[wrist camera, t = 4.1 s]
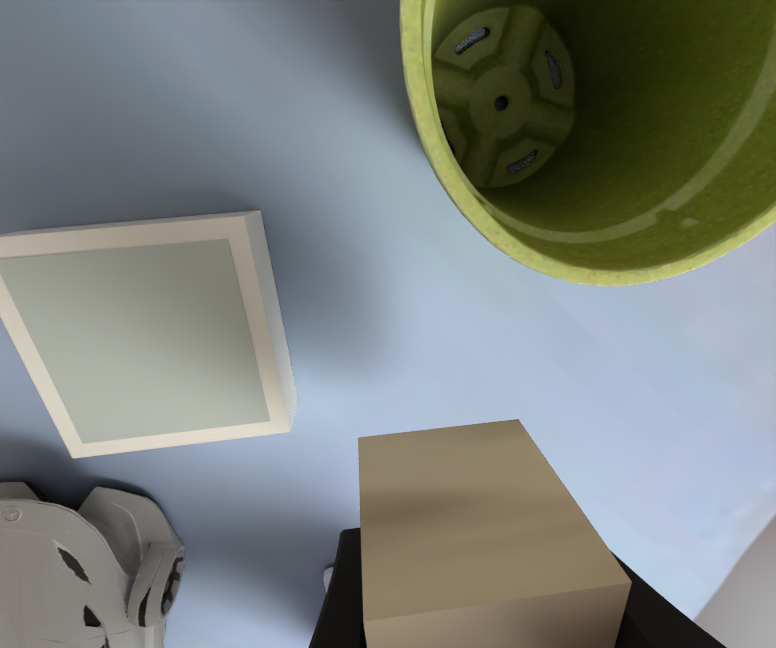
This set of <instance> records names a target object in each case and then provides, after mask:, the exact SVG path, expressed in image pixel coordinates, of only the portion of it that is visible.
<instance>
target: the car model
mask: <svg viewBox="0 0 776 648" xmlns="http://www.w3.org/2000/svg"><path fill="white" fill-rule="evenodd" d="M184 560H185V550H184V545H183V543H182V542H181V540H180V539H179V538H178V537H177V535H176V534H175V532H174V531H173V529H172V527H171V525H170V524H169V522H168V521H167V519H166V517H165V516H164V514H163V513H162V511H161V509H160V508H159V506H158V505H157V504H156V503H154V502H153V501H152V500H150V499H149V498H147V497H145V496H143V495H140V494H136V493H132V492H127V491H123V490H118V489H114V488H109V487H105V486H98V487H95V488H94V489H93V491H92V492H91V493H90V495H89V496H88V497H87V498H86V500H85V501H84V502H83V503H82V504H81V505H78V506H76V507H72V506H61V505H58V504H56V503H54V502H52V501H49V500H48V499H47V498H46V497H45V496H43V495H42V494H41V493H40V492H39V491H38V490H37V489H36V488H35V487H33V486H32V485H31V484H30V483H29V482H28V481H15V482H1V483H0V648H163V647H164V636H165V626H166V618H167V616H168V615H169V613H170V610H171V608H172V606H173V604H174V602H175V599H176V596H177V593H178V590H179V588H180V584H181V581H182V577H183V573H184V568H185V565H184Z"/></svg>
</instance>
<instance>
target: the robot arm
mask: <svg viewBox="0 0 776 648" xmlns="http://www.w3.org/2000/svg"><path fill="white" fill-rule="evenodd" d="M610 552H611V551H610ZM611 553H612V554H613V556H614V557H615V559H616V560H617V562H618V563H619V564H620V566H621V567H622V569H623V570H624V572H625V573H626V574H627V576H628V577H629V579H630V580H631V582H632V584H631V587H630V591H629V595H628V598H627V602H626V606H625V609H624V613H623V617H622V620H621V624H620V628H619V631H618V635H617V639H616V642H615V646H614V648H726V647H725V646H724V645H722V644H721V643H720V642H719V641H717V640H716V639H715V638H713V637H712V636H711V635H709V634H708V633H707V632H705V631H704V630H703V629H702V628H700V627H699V626H698V625H696V624H695V623H694V622H693V621H692V620H690V619H689V618H688V617H687V616H685V615H684V614H683V613H682V612H680V611H679V610H678V609H677V608H676V607H674V606H673V605H672V604H671V603H670V602H668V601H667V600H666V599H665V598H664V597H662V596H661V595H660V594H659V593H658V592H656V591H655V590H654V589H653V588H652V587H651V586H649V585H648V584H647V583H646V582H645V581H644V580H643V579H641V578H640V577H639V576H638V575H637V574H636V573H635V572H634V571H632V570H631V569H630V568H629V567H628V566H627V565H626V564H625V563H624V562H622V561H621V560H620V559H619V558H618V557H617V556H616V555H615V554H614V553H613V552H611ZM323 580H324V585H325V590H326V597H325V600H324V603H323V606H322V610H321V613H320V616H319V619H318V622H317V625H316V628H315V631H314V634H313V637H312V639H311V642H310V645H309V648H367V643H366V637H365V630H364V623H363V591H362V556H361V528H354V529H347V530H343V531H342V532H341V533H340V539H339V545H338V550H337V555H336V560H335V564H334V567H331V568H328V569H326V570H325V571H324V577H323Z"/></svg>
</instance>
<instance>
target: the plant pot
mask: <svg viewBox="0 0 776 648" xmlns="http://www.w3.org/2000/svg"><path fill="white" fill-rule="evenodd" d="M482 27H487V28H488V29H489V30H490V33H489V36H488V37H486V38H485V39H482V40H480V41H479V42H477V43H475V44H473V45H472V46H470V47H469V48H468V49H466V50H465V51H464V52H463V53H462V54H461V55H457V54H456V53H455V52H456V47H457V45H458V43H460V42H462V41H463V40H464V39H466V38H468V37H469V36H470V34H471V33H472V32H473V31H474V30H476V29H479V28H482ZM399 33H400V45H401V58H402V67H403V73H404V80H405V86H406V92H407V96H408V101H409V105H410V109H411V114H412V117H413V121H414V124H415V127H416V130H417V133H418V136H419V139H420V142H421V145H422V147H423V150H424V152H425V155H426V157H427V159H428V161H429V163H430V165H431V167H432V169H433V171H434V173H435V175H436V177H437V179H438V180H439V182H440V184H441V185H442V187H443V188H444V190H445V191H446V193H447V194H448V196H449V198H450V199H451V200H452V202H453V203H454V204H455V205H456V207H457V208H458V209H459V211H460V212H461V213H462V215H463V216H464V217H465V218H466V219H467V220H468V221H469V222H470V223H471V224H472V225H473V226H474V227H475V228H476V230H477V231H478V232H479V233H480V234H481V235H482V236H483V237H484V238H486V239H487V240H488V241H489V242H490V243H491V244H493V245H494V246H495V247H496V248H497V249H499V250H500V251H502V252H503V253H505V254H506V255H508V256H509V257H511V258H512V259H513V260H515V261H517V262H519V263H521V264H523V265H525V266H526V267H528V268H531V269H533V270H535V271H537V272H539V273H542V274H545V275H548V276H550V277H553V278H557V279H560V280H564V281H567V282H570V283H576V284H583V285H591V286H608V287H614V286H628V285H636V284H643V283H649V282H653V281H657V280H661V279H666V278H670V277H673V276H677V275H680V274H683V273H685V272H689V271H692V270H694V269H697V268H699V267H702V266H704V265H706V264H708V263H710V262H712V261H714V260H716V259H718V258H720V257H721V256H723V255H725V254H727V253H729V252H731V251H732V250H734V249H736V248H738V247H739V246H741V245H743V244H744V243H746V242H748V241H750V240H751V239H753V238H754V237H756V236H757V235H759V234H760V233H761V232H763V231H764V230H765V229H767V228H768V227H769V226H771V225H772V224H773V223H775V222H776V0H400V9H399ZM546 50H547V52H550V53H551V54H552V55H553V57H554V58H555V59H556V61H557V63H558V65H559V67H560V71H561V77H562V81H561V87H560V88H558V89H555V88H554V86H553V79H552V76H551V71H550V68H549V65H548V63H547V60H548V58H547V57H546V56H545V51H546ZM500 96H504V97H506V98H507V100H508V105H507V107H506V109H505V110H503V111H497V109H496V108H495V100H496V99H497V98H499V97H500ZM440 121H442V123H443V127H444V130H445V133H446V135H447V138H448V140H449V142H450V144H451V145H452V146H453V148H454V149H455V154H454V155H453V154H452V151H451V149H450V147H449V144H448V142H447V140H446V137H445V134H444V131H443V129H442V125H441V122H440ZM534 150H536V151H537V154H536V158H535V159H534V160H533V161H532V162H531V163H529V164H528V165H526V166H525V167H523V168H522V169H521V170H519V171H516V172H514V173H512V172H508V171H507V167H508V166H509V165H511V164H513V163H515V162H517V161H520V160H522V159H523V158H525V157H526V156H528V155H529V154H530V153H531V152H533V151H534Z"/></svg>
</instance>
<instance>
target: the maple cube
mask: <svg viewBox="0 0 776 648" xmlns="http://www.w3.org/2000/svg"><path fill="white" fill-rule="evenodd" d="M358 450H359V486H360V521H361V556H362V591H363V623H364V630H365V637H366V643H367V648H614V646H615V642H616V639H617V635H618V631H619V628H620V624H621V620H622V617H623V613H624V609H625V606H626V602H627V598H628V595H629V591H630V587H631V584H632V582H631V580H630V579H629V577H628V576H627V574H626V573H625V572H624V570H623V569H622V567H621V566H620V564H619V563H618V562H617V560H616V559H615V557H614V556H613V554H612V553H611V552H610V550H609V549H608V547H607V546H606V544H605V543H604V542H603V540H602V539H601V537H600V536H599V534H598V533H597V531H596V530H595V529H594V527H593V526H592V524H591V523H590V521H589V520H588V519H587V517H586V516H585V514H584V513H583V511H582V510H581V509H580V507H579V506H578V504H577V503H576V501H575V500H574V498H573V497H572V496H571V494H570V493H569V491H568V490H567V488H566V487H565V486H564V484H563V483H562V481H561V480H560V478H559V477H558V476H557V474H556V473H555V471H554V470H553V468H552V467H551V466H550V464H549V463H548V461H547V460H546V458H545V457H544V455H543V454H542V453H541V451H540V450H539V448H538V447H537V445H536V444H535V443H534V441H533V440H532V438H531V437H530V435H529V434H528V433H527V431H526V430H525V428H524V427H523V425H522V424H521V422H520V421H519V420H518V419H516V420H507V421H498V422H490V423H481V424H473V425H464V426H455V427H447V428H438V429H429V430H421V431H412V432H403V433H395V434H386V435H377V436H369V437H360V438H358Z"/></svg>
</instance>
